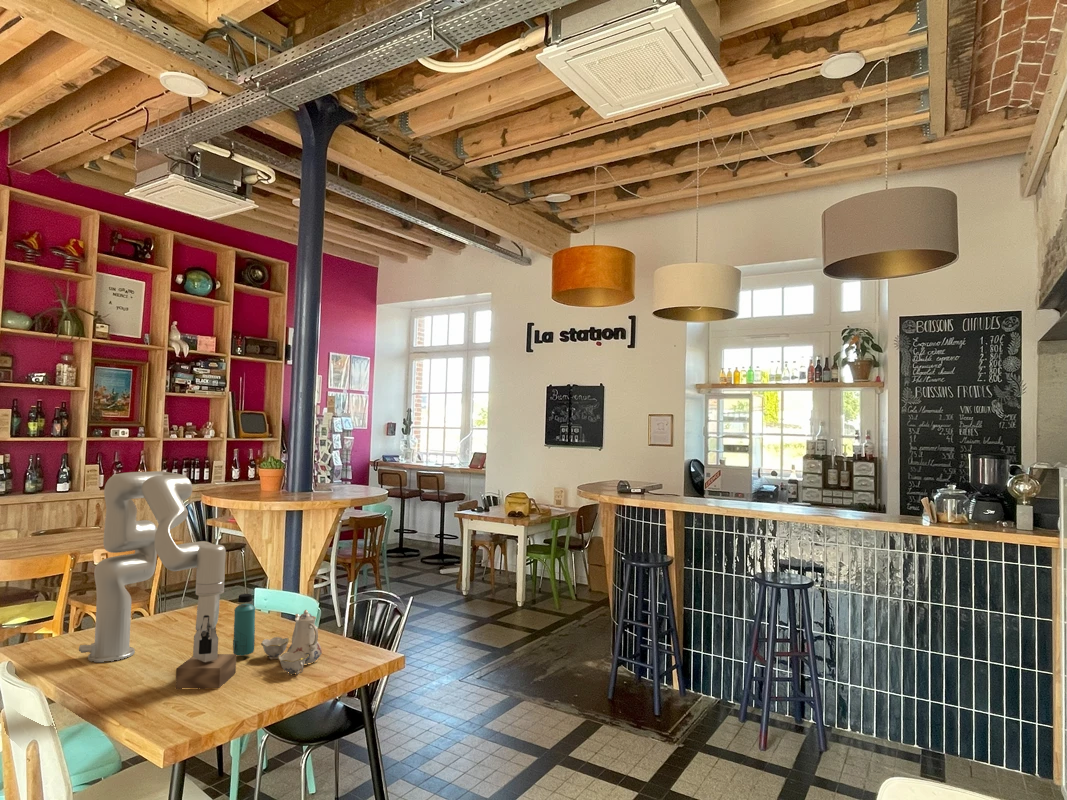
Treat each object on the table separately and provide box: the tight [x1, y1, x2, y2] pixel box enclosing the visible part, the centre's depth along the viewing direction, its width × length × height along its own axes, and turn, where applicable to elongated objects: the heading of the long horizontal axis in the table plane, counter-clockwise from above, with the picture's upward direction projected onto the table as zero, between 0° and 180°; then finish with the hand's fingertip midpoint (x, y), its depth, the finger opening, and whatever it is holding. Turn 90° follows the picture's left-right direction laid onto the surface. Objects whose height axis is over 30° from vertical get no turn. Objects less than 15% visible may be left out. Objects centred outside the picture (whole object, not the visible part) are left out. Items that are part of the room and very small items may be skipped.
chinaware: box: [260, 609, 323, 675], centre depth 208 cm, size 28×17×17 cm, turn 44°
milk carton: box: [192, 627, 219, 662], centre depth 192 cm, size 4×7×10 cm, turn 54°
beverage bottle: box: [232, 593, 256, 657], centre depth 213 cm, size 6×7×20 cm
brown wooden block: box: [175, 653, 237, 690], centre depth 192 cm, size 12×12×6 cm
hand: (207, 648), depth 192 cm, fingers closed on milk carton, 7 cm apart
